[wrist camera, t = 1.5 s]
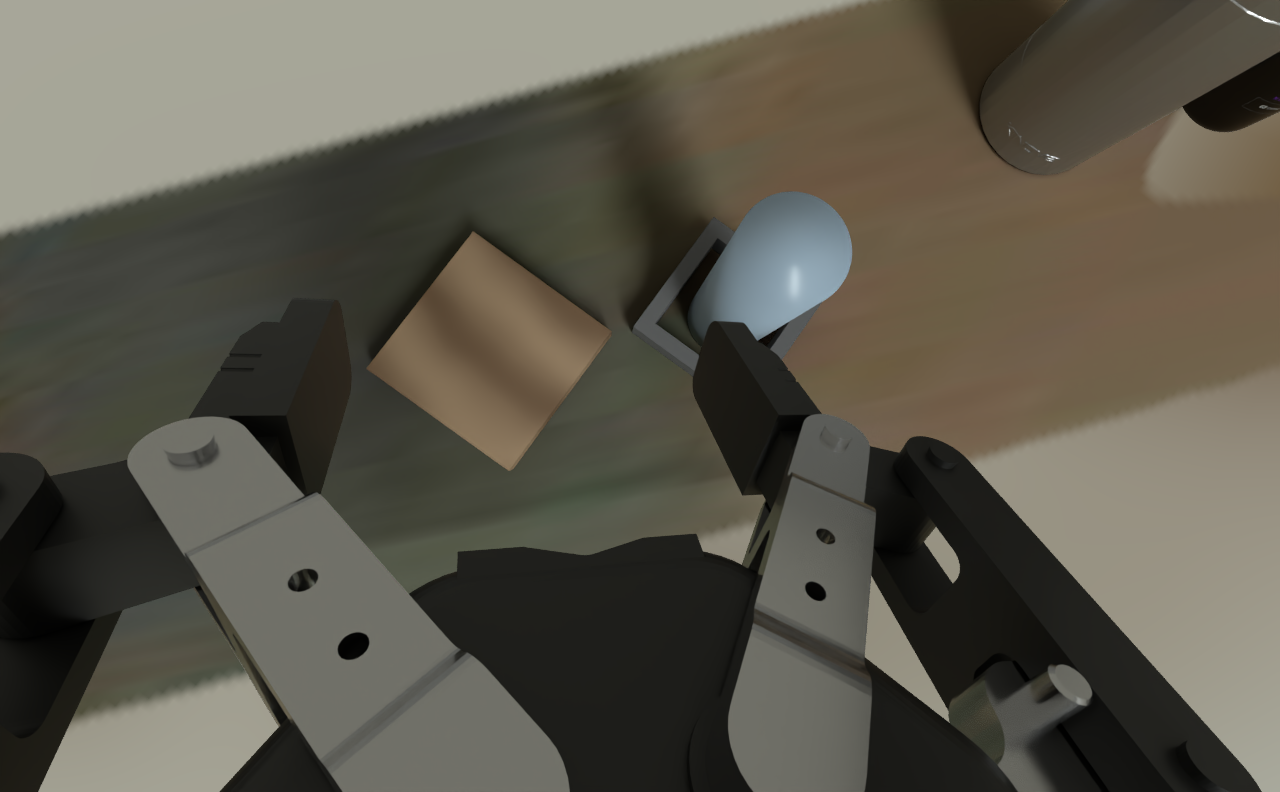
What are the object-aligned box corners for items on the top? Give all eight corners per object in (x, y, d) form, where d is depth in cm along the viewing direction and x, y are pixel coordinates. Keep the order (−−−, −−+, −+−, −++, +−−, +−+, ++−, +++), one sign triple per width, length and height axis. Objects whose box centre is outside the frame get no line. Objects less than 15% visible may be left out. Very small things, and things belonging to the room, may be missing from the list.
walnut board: (478, 239, 36) (473, 231, 34) (611, 335, 36) (611, 331, 34) (376, 371, 35) (366, 368, 33) (513, 469, 35) (508, 471, 33)
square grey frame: (708, 228, 37) (713, 216, 35) (813, 304, 37) (824, 297, 35) (632, 332, 36) (633, 326, 34) (739, 410, 36) (747, 409, 34)
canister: (714, 268, 37) (779, 168, 23) (773, 310, 37) (874, 237, 23) (673, 326, 36) (712, 261, 22) (732, 369, 36) (809, 331, 22)
